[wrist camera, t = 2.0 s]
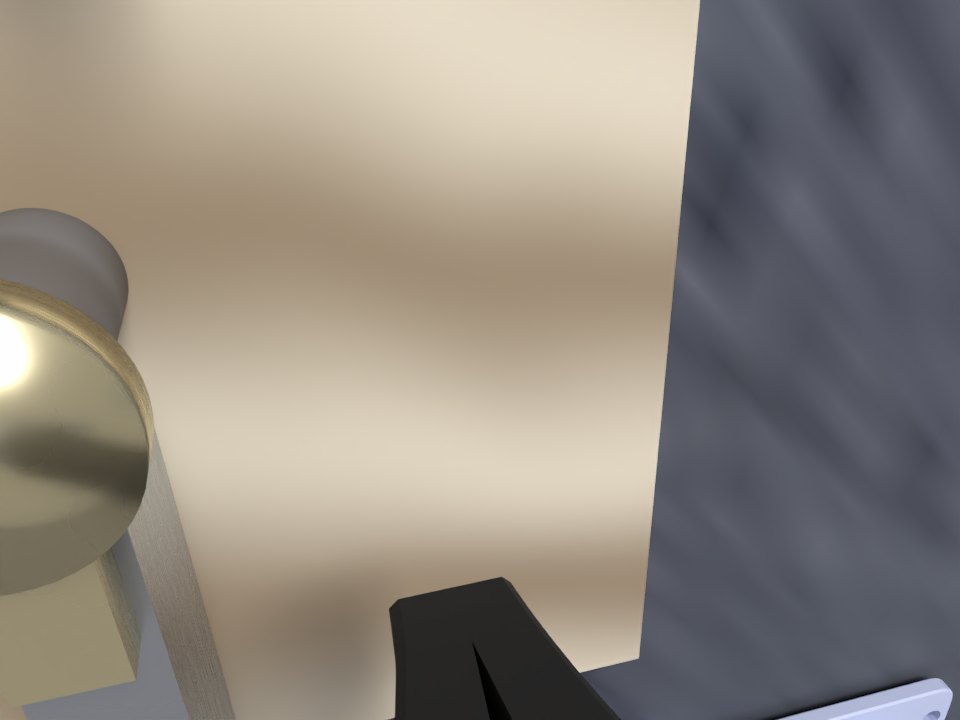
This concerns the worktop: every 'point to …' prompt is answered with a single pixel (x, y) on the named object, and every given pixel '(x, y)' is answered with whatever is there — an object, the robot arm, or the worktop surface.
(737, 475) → the worktop surface
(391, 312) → the jamb board
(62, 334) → the lock bar
